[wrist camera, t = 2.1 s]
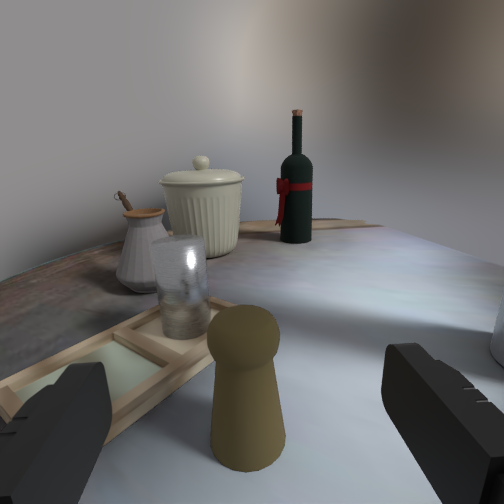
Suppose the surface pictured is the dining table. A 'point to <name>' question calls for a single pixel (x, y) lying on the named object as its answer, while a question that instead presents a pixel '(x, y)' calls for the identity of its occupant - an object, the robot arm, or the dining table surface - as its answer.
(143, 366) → the wooden tray
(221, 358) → the olive brown pepper mill
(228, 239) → the canister
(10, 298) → the dining table surface
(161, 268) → the clear glass tumbler
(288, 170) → the wine bottle
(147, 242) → the coffee pot
